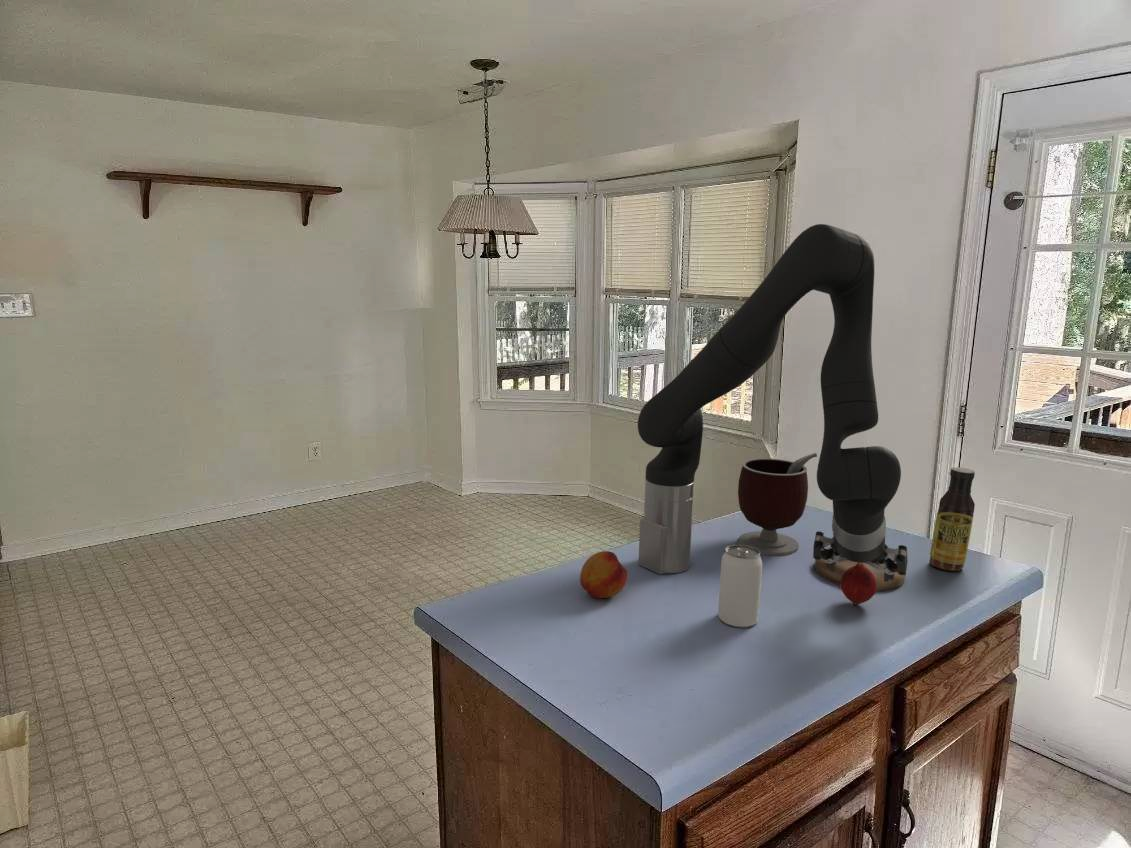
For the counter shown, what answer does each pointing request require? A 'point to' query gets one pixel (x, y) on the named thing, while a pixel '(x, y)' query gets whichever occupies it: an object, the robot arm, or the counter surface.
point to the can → (740, 586)
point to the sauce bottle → (953, 522)
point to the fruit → (603, 575)
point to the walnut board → (843, 566)
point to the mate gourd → (772, 501)
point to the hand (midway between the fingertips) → (859, 571)
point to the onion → (858, 584)
